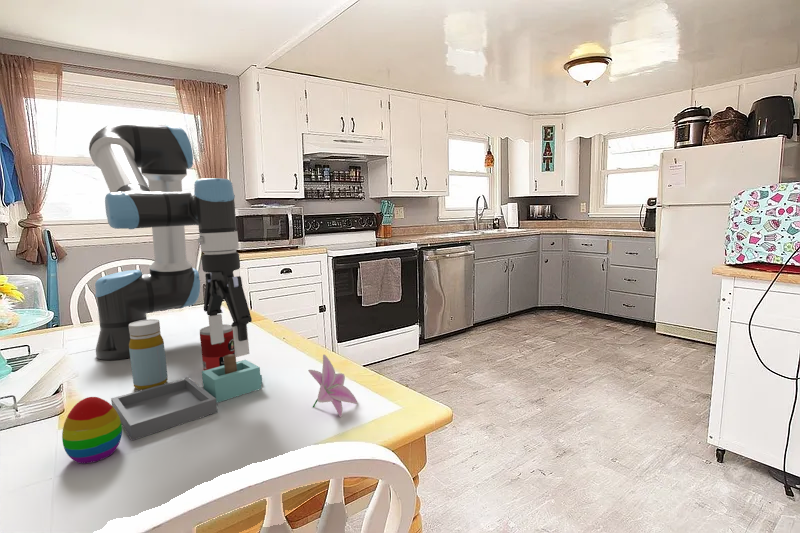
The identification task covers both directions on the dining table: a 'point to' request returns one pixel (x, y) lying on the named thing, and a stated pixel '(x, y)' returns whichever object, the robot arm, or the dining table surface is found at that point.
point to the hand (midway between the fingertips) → (229, 348)
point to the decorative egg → (91, 430)
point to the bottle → (147, 354)
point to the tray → (163, 407)
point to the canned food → (216, 347)
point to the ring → (232, 380)
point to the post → (230, 363)
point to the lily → (332, 386)
